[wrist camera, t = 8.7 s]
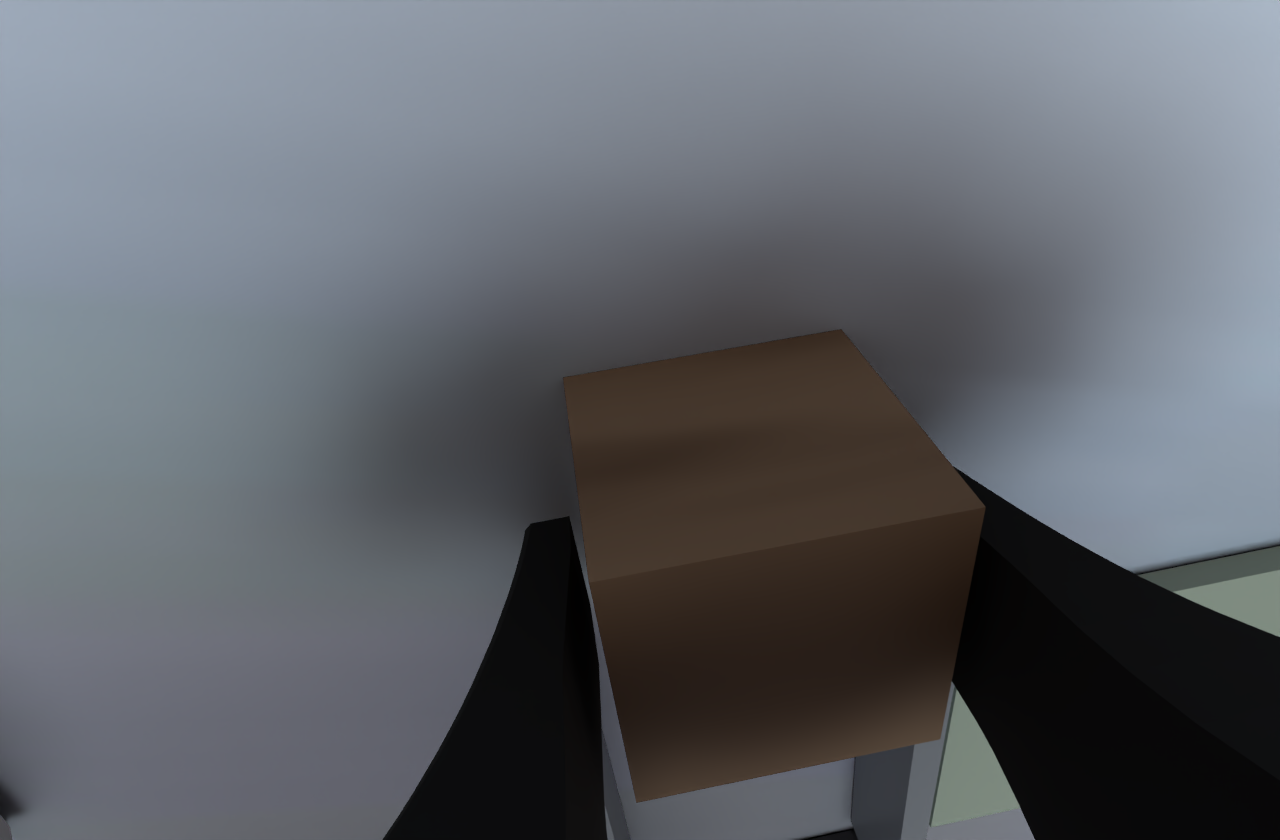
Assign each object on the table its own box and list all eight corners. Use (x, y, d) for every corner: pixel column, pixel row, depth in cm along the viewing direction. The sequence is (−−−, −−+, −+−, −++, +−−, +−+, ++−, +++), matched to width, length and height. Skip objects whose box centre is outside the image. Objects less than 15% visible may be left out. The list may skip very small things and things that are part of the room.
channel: (871, 816, 21) (911, 915, 19) (616, 872, 21) (628, 979, 18) (897, 559, 15) (958, 660, 13) (544, 631, 15) (550, 745, 13)
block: (830, 532, 15) (940, 739, 11) (602, 574, 14) (636, 802, 11) (838, 326, 12) (985, 506, 8) (562, 374, 12) (589, 583, 8)
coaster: (1192, 746, 21) (1209, 766, 21) (920, 806, 21) (930, 827, 20) (1297, 542, 17) (1321, 561, 16) (952, 613, 16) (967, 634, 16)
